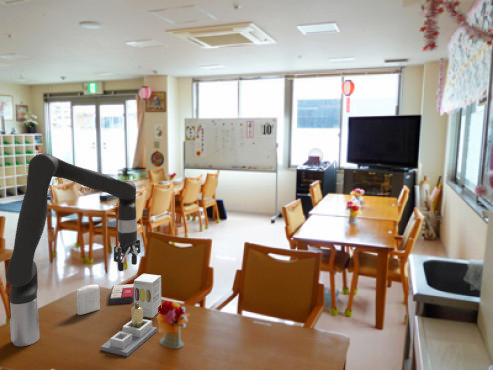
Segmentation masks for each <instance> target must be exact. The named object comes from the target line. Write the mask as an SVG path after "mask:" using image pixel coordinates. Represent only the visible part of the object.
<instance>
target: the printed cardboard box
mask: <svg viewBox="0 0 493 370" xmlns="http://www.w3.org/2000/svg"><path fill="white" fill-rule="evenodd" d="M129 303H134V283H130V284H115V285H114V284H113V286H112V289H111V292H110V296H109V305H117V304H129Z"/></svg>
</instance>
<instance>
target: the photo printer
mask: <svg viewBox="0 0 493 370" xmlns="http://www.w3.org/2000/svg"><path fill="white" fill-rule="evenodd" d="M100 291H101V290H100V286H99V285H98V284H87V285H85V286H82V287H79V288H78V289H77V290H76V314H77V315H78V316H81V315H85V314H89V313H92V312H96V311H98V310H99V311H100V310H101V302H100V301H101V298H100Z"/></svg>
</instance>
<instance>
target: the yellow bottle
mask: <svg viewBox="0 0 493 370" xmlns="http://www.w3.org/2000/svg"><path fill="white" fill-rule="evenodd" d="M130 310H131V312H130V313H131V320H132V327H135V328H141V327H142V326H143V319H144V317H143V307H142V306H141V305H139V302H136V303H135V306H134V305H133V306H131V309H130Z"/></svg>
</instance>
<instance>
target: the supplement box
mask: <svg viewBox="0 0 493 370" xmlns="http://www.w3.org/2000/svg"><path fill="white" fill-rule="evenodd" d="M133 284H134V300H133V304H134V305H133V306H135V303H136V302H139V305H141V306H142V307H143V318H145V317H146V318H149V319H153V318H154V317H155V316H156V315H157V314H158V313H159V312H158V307H159V306H160V305H161V306H162V275H157V274H148V273H142V274H141V275H139V276H138V277H137V278H135V279H134V280H133Z"/></svg>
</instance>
